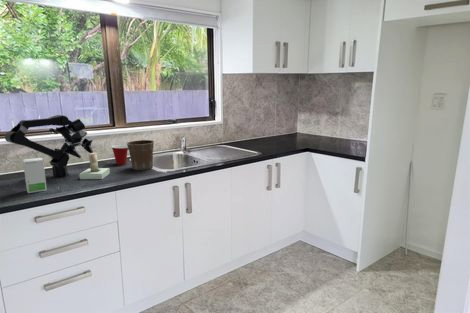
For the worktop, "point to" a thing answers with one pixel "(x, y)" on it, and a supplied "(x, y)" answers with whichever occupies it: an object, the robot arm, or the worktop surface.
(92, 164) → the ash peg
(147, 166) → the plant pot
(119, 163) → the plastic cup
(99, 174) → the socket board
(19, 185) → the worktop surface
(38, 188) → the skincare box
